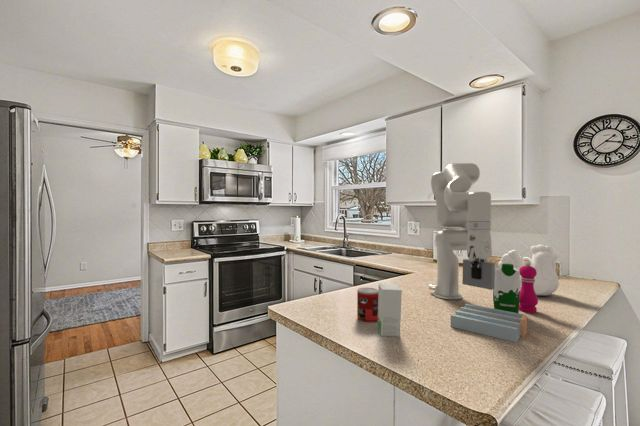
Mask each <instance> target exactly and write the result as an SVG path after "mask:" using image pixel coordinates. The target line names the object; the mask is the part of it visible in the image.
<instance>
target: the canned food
mask: <svg viewBox="0 0 640 426" xmlns="http://www.w3.org/2000/svg"><path fill="white" fill-rule="evenodd" d="M378 293H379V289H378V288H375V287H360V288H357V298H356V299H357V300H356V301H357V302H356V305H357V307H356V308H357V311H356V312H357V314H356V315H357V316H356V317H357V320H358V321H361V322H364V323H376V322H378Z"/></svg>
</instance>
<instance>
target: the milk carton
mask: <svg viewBox="0 0 640 426" xmlns="http://www.w3.org/2000/svg"><path fill="white" fill-rule="evenodd" d="M519 297H520V271H519V270H517V269H515V268H514V265H513V264H502V267H499V266H495V283H494V289H492V299H493V300H492V301H493V302H492V303H493V309H498V310H503V311H509V312H514V313H519V314H520V310H519V304H520V303H519Z"/></svg>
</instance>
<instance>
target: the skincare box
mask: <svg viewBox="0 0 640 426" xmlns="http://www.w3.org/2000/svg"><path fill="white" fill-rule="evenodd" d="M378 290H379V293H378V320H377V329H378V331H379V333H380V336H381V337H399V338H400V337H401V319H402V317H401V316H402V296H403V295H402V294H403V293H402V289H401V288H400V285H398V284H397V283H396V282H395V283H391V282H390V283H387V282H385V283H383V282H380V283H378Z"/></svg>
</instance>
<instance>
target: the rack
mask: <svg viewBox="0 0 640 426" xmlns="http://www.w3.org/2000/svg"><path fill="white" fill-rule="evenodd" d="M450 327H451V328H455V329H458V330H459V329H460V330H463V331H468V332H471V333H476V334H481V335H485V336H489V337H492V338H498V339H502V340H506V341H511V342H513V343H514V342H515V343H518V340H520V337H522V338H525V337H526V335H527V333H528V315H526V314H524V313H520V312H519V313H514V312H509V311H503V310H498V309H494V308H492V307H491V308H490V307H486V306H481V305H476V304H470V303H465V304H464V306H461V307H460V310H456V311H455V314H453V313H452V314H450Z"/></svg>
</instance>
